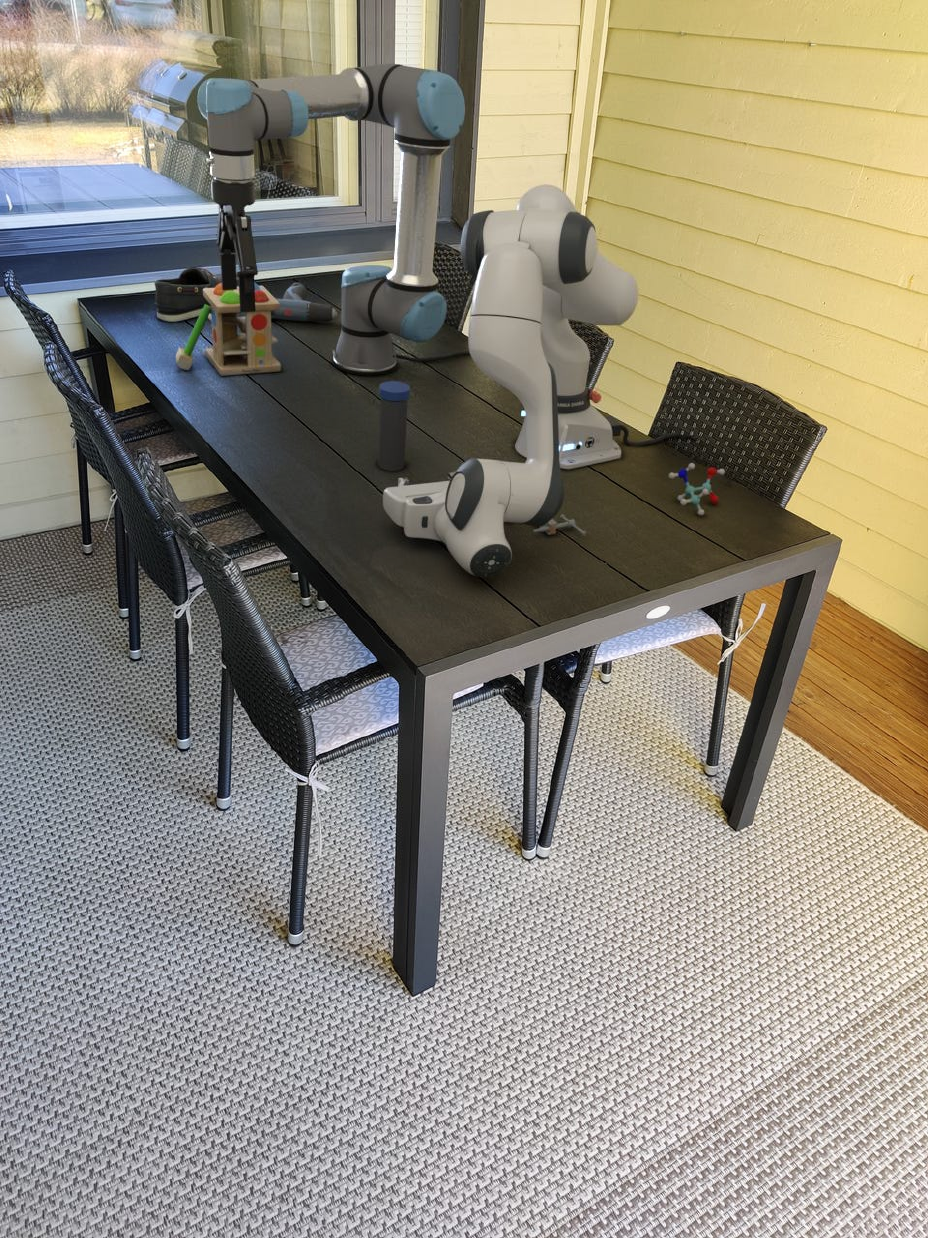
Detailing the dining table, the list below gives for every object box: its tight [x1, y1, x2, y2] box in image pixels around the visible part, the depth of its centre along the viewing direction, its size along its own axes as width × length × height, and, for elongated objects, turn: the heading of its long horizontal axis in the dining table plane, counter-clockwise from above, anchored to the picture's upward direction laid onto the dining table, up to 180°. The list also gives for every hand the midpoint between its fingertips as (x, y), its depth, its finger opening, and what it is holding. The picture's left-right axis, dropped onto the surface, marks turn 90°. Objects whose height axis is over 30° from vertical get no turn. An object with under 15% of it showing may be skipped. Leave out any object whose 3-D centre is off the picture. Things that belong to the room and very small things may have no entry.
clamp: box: [532, 513, 587, 537], centre depth 177 cm, size 15×2×10 cm
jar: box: [377, 397, 409, 472], centre depth 189 cm, size 5×5×16 cm
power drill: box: [271, 282, 338, 322], centre depth 265 cm, size 5×19×20 cm
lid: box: [378, 380, 411, 401], centre depth 185 cm, size 6×6×2 cm
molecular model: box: [668, 462, 726, 517], centre depth 188 cm, size 12×10×10 cm
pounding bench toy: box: [174, 282, 282, 377], centre depth 225 cm, size 23×14×18 cm, turn 116°
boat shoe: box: [153, 265, 239, 323], centre depth 262 cm, size 13×33×10 cm, turn 147°
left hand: (238, 300), depth 185 cm, fingers open, 13 cm apart
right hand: (426, 478), depth 176 cm, fingers open, 8 cm apart
